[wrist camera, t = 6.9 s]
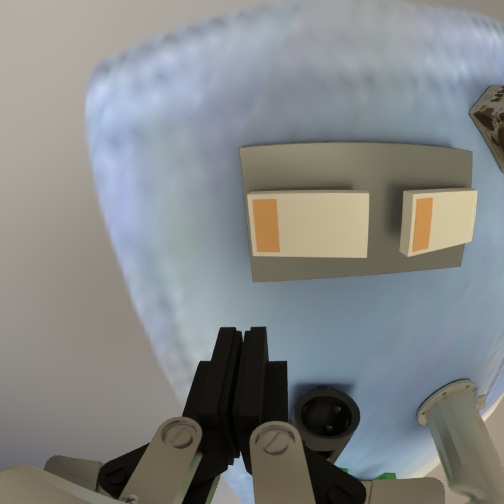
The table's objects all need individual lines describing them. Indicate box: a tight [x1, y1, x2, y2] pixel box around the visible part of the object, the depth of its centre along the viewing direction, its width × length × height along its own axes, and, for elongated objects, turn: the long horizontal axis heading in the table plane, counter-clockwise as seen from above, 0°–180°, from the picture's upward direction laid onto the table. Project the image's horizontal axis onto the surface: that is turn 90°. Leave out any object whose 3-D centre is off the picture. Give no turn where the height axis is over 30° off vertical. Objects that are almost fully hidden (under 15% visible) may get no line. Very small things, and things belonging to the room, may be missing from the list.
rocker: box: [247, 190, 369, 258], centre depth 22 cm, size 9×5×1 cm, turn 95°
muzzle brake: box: [289, 387, 360, 464], centre depth 38 cm, size 10×28×10 cm, turn 177°
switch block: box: [239, 142, 472, 282], centre depth 25 cm, size 22×12×5 cm, turn 95°
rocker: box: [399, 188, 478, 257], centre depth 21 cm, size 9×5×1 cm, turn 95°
